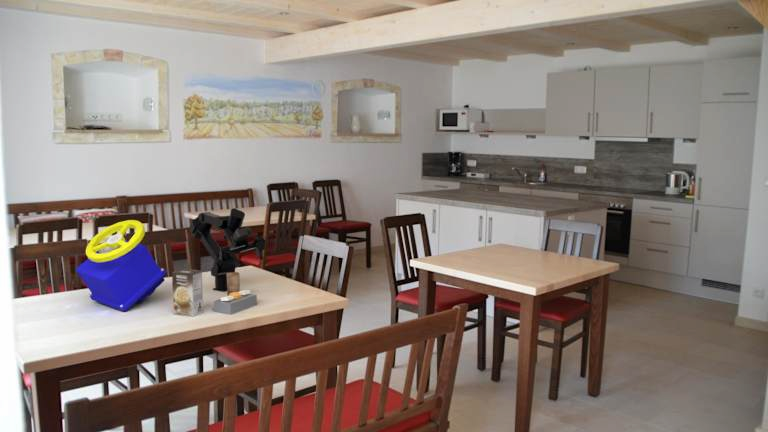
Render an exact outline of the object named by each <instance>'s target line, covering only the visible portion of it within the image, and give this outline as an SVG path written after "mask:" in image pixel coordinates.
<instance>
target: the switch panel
mask: <svg viewBox="0 0 768 432" xmlns="http://www.w3.org/2000/svg"><path fill="white" fill-rule="evenodd" d="M257 305H258V295H257V294H255V293H249V294H246V295H242V297H241V298H238V299H232V300H229V301H221V298H220V299H217V300H214V301H213V313H214V312H215V313H220V314H225V315H234V314H237V313H239V312H241V311H244V310H247V309H249V308H253V307H254V306H257Z"/></svg>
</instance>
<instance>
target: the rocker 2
mask: <svg viewBox="0 0 768 432" xmlns="http://www.w3.org/2000/svg"><path fill="white" fill-rule="evenodd" d="M237 293H240V294H242V295H246V294H251V291H250V289H247V290H246V289H245V290H240V291H239V292H237Z"/></svg>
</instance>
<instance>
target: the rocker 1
mask: <svg viewBox="0 0 768 432" xmlns="http://www.w3.org/2000/svg"><path fill="white" fill-rule="evenodd" d="M220 299H221V301H229V300H232V299H234V296H227V295H225V296H222V297H220Z"/></svg>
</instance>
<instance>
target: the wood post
mask: <svg viewBox="0 0 768 432" xmlns="http://www.w3.org/2000/svg"><path fill="white" fill-rule="evenodd" d="M240 280H241V279H240V272H238V271H235V272H230V273H227V294H226V296H229V294H230V293H233V292H239V291H241V287H240V286H241V283H240V282H241V281H240Z"/></svg>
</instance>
